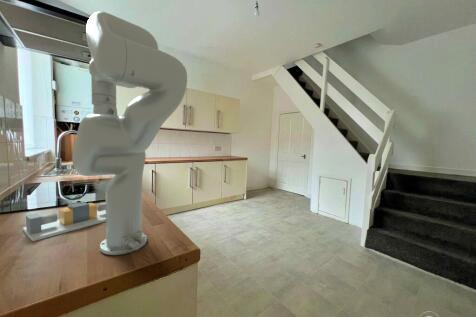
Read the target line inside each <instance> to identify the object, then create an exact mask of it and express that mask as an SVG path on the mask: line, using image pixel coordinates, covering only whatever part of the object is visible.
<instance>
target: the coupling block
mask: <svg viewBox="0 0 476 317" xmlns="http://www.w3.org/2000/svg"><path fill="white" fill-rule="evenodd" d="M58 217H59V218H58V219H59V223H61V224H62V225H63V226H67V225H71V224H75V223H79V222H83V221H87V220H91V219H95V218H97V204H95V203H93V202H88V203H87V202H86V201H80V202H74V203H70V204H67V207H60V208H58Z"/></svg>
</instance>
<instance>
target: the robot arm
mask: <svg viewBox="0 0 476 317" xmlns="http://www.w3.org/2000/svg"><path fill="white" fill-rule="evenodd" d="M85 38H86V44H87V46H88V49H89V51H90V54H91V57H92V59H91V60H90V61H89V63H88V64H89V65H88V71H89V74H90V75H91V76H90V77H91V78H90V79H91V80H90V81H91V105H93V111H92V114H88V115H86V116H84V117H83V118H82V119H81V121H80V123H79V126H78V128H77V133H76V138H75V143H74V146H73V151H72V152H73V153H72V165H73V166H72V167H73V168H74V171H75V172H76V173H77V174H78V175H81V176H85V177H94V176H96V177H97V176H109V175H113V177H112V178H111V179H110V181H109V182H108V183H107V186H106V189H105V203H106V221H105V239H103V240H102V241H101V242H100V244H99V251H100V252H101V253H103V254H104V255H108V256H109V255H110V256H118V255H119V256H120V255H126V254H129V253H133V252H135V251H138V250H140V248H143V247H144V246H145V245H146V243H147V242H148V237H147V235H146V234H145V233H144V232H143V230H142V229H143V228H142V227H143V226H142V218H143V215H142V214H143V213H142V212H143V209H142V208H143V207H142V206H143V201H142V200H143V197H142V196H143V195H142V194H143V177H144V176H143V174H144V168H145V164H146V159H147V158H146V157H147V156H146V151H147V150H148V148H149V147H150V146H151V144H152V143H153V141H154V140H155V137H156V136H157V134H158V133H159V132H160V129H161V128H162V126H163V124H164V123H165V122H166V121H167V120H168V119H169V117H171V116H172V114H174V113H175V111H176V110H177V109H178V107H179V106H180V104H181V103H182V101H183V99H184V96H185V94H186V91H187V86H188V73H187V68H186V67H185V65H184V64H183V63H182V62H181V61H180V60H179V59H177V58H176V57H175V56H173V55H171V54H169V53H166V52H165V51H162V50H159V45H158V41H157V40H156V38H155V37H154V35H153V34H152V33H150V32H149V31H148V30H146V29H145V28H143V27H141V26H139V25H136V24H134V23H132V22H130V21H127V20H125V19H123V18H120V17H118V16H115V15H114V14H111V13H108V12H105V11H97V12H94V13H93V14H92V15H90V17H89V19H88V20H87V23H86V28H85ZM117 86H118V87H123V88H126V89H134V88H137V87H138V88H142V89H147V90H148V91H147V92H144V93H142V94H140V95H138V96H136V97H135V98H134V99H133V100H130V102H129V103H128V104H127V106H126V108H125V111H124V113H123V115H118V109H117Z"/></svg>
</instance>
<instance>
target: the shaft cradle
mask: <svg viewBox="0 0 476 317" xmlns="http://www.w3.org/2000/svg"><path fill="white" fill-rule="evenodd" d="M96 205H97V218H95V219H91V220H87V221H83V222H79V223H75V224H71V225H67V226H63V225H62V224H61V223H59V218H58V215H57V213H56V212H53V213H49V214H43V215H40V214H38V212H37V213H31V214H26V215H25V222H26V223H25V224H26V226H24V227H22V231H23V232H24V234H26V235H27V237H28V238H29V239H30V240H31V242H36V241H39V240H42V239H48V238H50V237H54V236H58V235H61V234H64V233H65V234H66V233H68V232H71V231H76V230H80V229H83V228H86V227H89V226H94V225H98V224H101V223H104V222H105V223H106V202H103V203H97V204H96Z"/></svg>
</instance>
